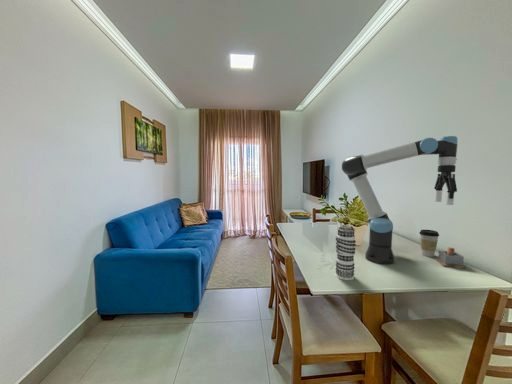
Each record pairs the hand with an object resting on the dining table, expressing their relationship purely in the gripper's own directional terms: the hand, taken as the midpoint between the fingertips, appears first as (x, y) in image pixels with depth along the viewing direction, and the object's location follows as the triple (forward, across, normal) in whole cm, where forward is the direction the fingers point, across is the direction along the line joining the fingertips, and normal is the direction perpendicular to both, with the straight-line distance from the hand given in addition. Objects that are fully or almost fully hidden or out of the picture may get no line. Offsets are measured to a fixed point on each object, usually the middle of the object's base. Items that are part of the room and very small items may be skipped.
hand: (443, 203), depth 129 cm
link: (+33, -2, -4) cm, 33 cm away
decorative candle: (+34, -36, +53) cm, 72 cm away
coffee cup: (+34, +11, +2) cm, 36 cm away
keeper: (+34, -2, -4) cm, 34 cm away
